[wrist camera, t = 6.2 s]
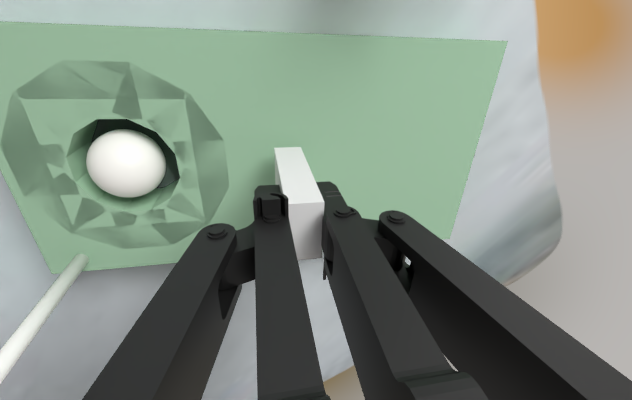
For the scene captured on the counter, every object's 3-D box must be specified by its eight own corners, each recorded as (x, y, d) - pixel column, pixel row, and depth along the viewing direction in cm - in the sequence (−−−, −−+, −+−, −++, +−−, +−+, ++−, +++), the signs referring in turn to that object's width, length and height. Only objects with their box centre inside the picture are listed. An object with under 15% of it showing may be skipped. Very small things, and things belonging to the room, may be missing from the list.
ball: (171, 123, 19) (111, 120, 19) (128, 142, 15) (55, 138, 16) (183, 183, 20) (128, 179, 21) (147, 212, 17) (81, 207, 17)
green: (-46, 20, 15) (-1812, -61, 2) (474, 40, 20) (869, 51, 7) (58, 247, 22) (-226, 559, 9) (430, 218, 27) (596, 390, 14)
